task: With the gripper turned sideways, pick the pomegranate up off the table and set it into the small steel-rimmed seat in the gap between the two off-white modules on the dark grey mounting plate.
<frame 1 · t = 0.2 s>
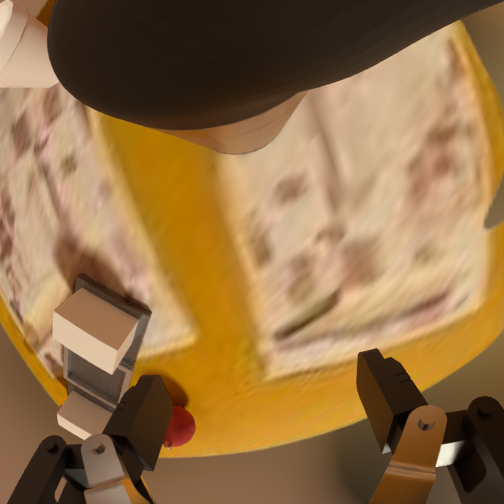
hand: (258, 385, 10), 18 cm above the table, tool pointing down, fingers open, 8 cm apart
mounted modules: (86, 384, 29), in the mounting plate, point 4 cm above the table
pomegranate: (179, 405, 34), on the table
foam cup: (54, 65, 20), on the table
mounting plate: (99, 367, 32), on the table
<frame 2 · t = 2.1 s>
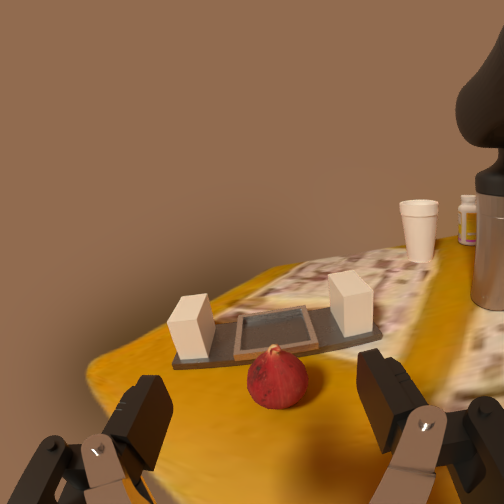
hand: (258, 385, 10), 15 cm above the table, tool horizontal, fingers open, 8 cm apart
mounted modules: (271, 315, 37), in the mounting plate, point 4 cm above the table
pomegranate: (281, 406, 25), on the table
foam cup: (420, 259, 55), on the table
mounting plate: (275, 339, 38), on the table
supplement bottle: (468, 243, 57), on the table
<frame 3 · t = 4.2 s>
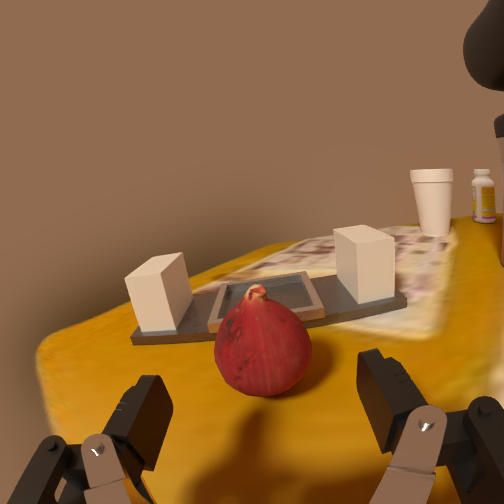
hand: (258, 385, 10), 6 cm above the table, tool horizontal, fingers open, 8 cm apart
mounted modules: (261, 275, 29), in the mounting plate, point 4 cm above the table
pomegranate: (270, 394, 17), on the table
foam cup: (435, 234, 47), on the table
mounting plate: (266, 310, 30), on the table
supplement bottle: (484, 222, 49), on the table
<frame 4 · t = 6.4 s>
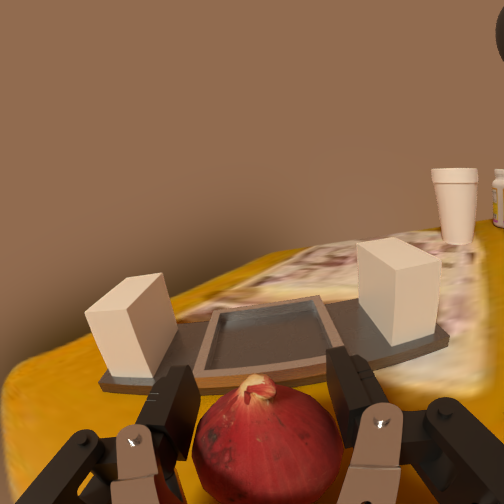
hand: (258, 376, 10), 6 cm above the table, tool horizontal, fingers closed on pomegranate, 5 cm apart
mounted modules: (263, 308, 21), in the mounting plate, point 4 cm above the table
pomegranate: (276, 489, 10), on the table, touching gripper
foam cup: (457, 241, 39), on the table
mounting plate: (270, 350, 22), on the table
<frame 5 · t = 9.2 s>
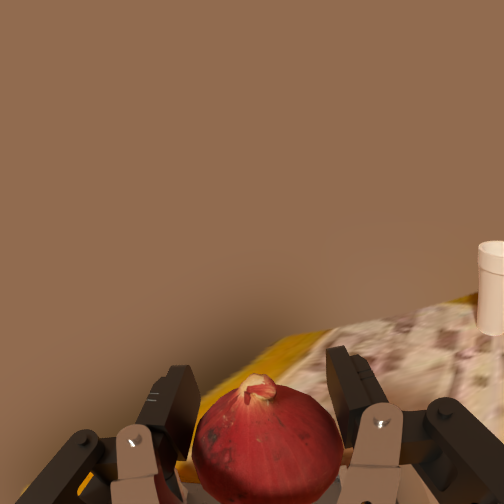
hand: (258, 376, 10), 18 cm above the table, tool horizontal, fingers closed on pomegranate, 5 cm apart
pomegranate: (276, 489, 10), point 11 cm above the table, touching gripper
foam cup: (491, 326, 30), on the table
when the fingers open (8 cm above the table, at t = 12.1 s): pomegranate drops 1 cm, resting on mounting plate.
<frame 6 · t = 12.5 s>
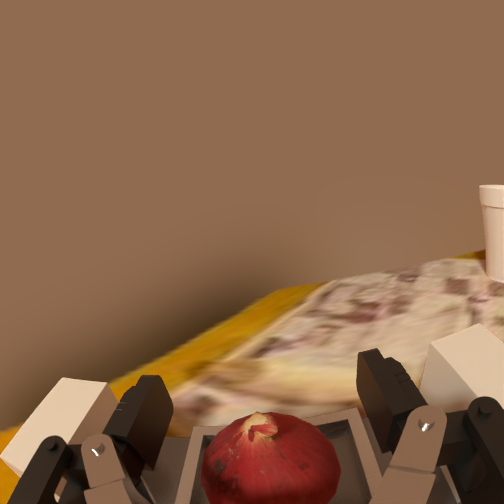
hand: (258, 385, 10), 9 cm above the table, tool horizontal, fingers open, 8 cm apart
mounted modules: (273, 473, 9), in the mounting plate, point 4 cm above the table
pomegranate: (279, 500, 10), point 1 cm above the table, touching mounting plate
foam cup: (502, 276, 27), on the table
mounting plate: (280, 503, 10), on the table
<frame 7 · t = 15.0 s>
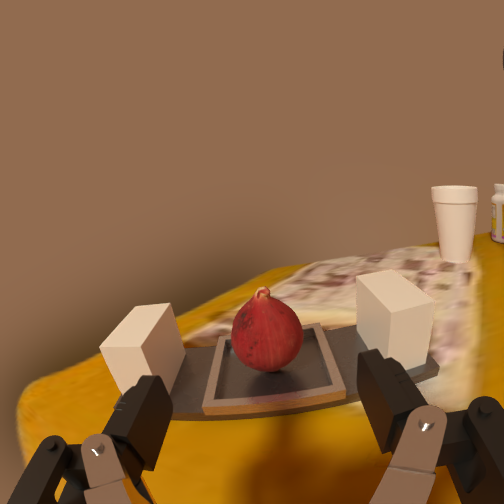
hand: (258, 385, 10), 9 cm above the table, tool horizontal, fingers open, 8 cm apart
mounted modules: (267, 340, 22), in the mounting plate, point 4 cm above the table
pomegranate: (272, 371, 23), point 1 cm above the table, touching mounting plate
foam cup: (455, 258, 41), on the table
mounting plate: (273, 377, 23), on the table
supplement bottle: (502, 241, 42), on the table
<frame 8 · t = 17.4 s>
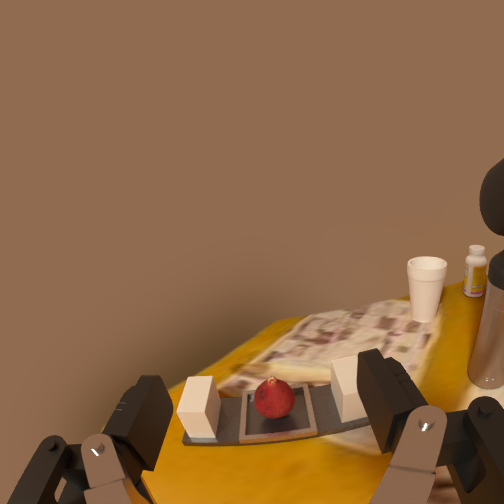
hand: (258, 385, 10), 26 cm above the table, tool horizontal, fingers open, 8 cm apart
mounted modules: (274, 401, 35), in the mounting plate, point 4 cm above the table
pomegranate: (277, 416, 36), point 1 cm above the table, touching mounting plate
foam cup: (423, 316, 53), on the table
mounting plate: (277, 418, 36), on the table
supplement bottle: (472, 293, 55), on the table
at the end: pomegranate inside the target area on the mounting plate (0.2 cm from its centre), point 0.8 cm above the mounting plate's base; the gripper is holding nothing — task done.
